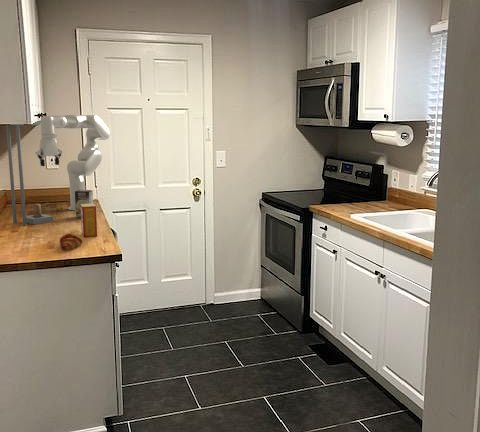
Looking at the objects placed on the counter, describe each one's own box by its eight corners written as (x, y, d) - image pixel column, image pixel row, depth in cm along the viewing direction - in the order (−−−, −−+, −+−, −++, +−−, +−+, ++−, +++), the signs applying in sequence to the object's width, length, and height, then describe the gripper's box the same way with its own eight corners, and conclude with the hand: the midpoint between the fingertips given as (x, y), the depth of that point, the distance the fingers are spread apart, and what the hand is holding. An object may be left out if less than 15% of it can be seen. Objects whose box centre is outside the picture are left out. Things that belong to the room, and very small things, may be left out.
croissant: (71, 248, 258) (62, 234, 256) (89, 238, 257) (80, 224, 256) (59, 258, 237) (49, 243, 235) (78, 248, 236) (69, 232, 235)
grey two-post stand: (35, 219, 309) (28, 120, 298) (46, 222, 302) (40, 121, 291) (12, 223, 298) (4, 120, 287) (23, 226, 291) (16, 121, 280)
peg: (39, 220, 306) (38, 203, 304) (43, 221, 304) (41, 204, 302) (33, 221, 303) (31, 204, 301) (36, 222, 301) (35, 205, 299)
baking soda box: (81, 233, 273) (80, 203, 270) (94, 232, 275) (93, 202, 272) (83, 237, 264) (82, 206, 261) (97, 236, 267) (95, 205, 264)
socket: (41, 218, 312) (41, 213, 311) (53, 221, 305) (53, 216, 304) (22, 221, 302) (22, 216, 302) (34, 224, 295) (33, 219, 295)
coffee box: (75, 217, 316) (73, 191, 313) (79, 215, 322) (78, 189, 319) (90, 218, 315) (88, 191, 312) (94, 216, 322) (92, 189, 319)
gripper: (57, 136, 326) (58, 164, 329) (31, 137, 312) (33, 166, 315) (64, 136, 321) (66, 164, 324) (38, 137, 308) (40, 166, 311)
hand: (50, 165), depth 320 cm, fingers open, 9 cm apart
